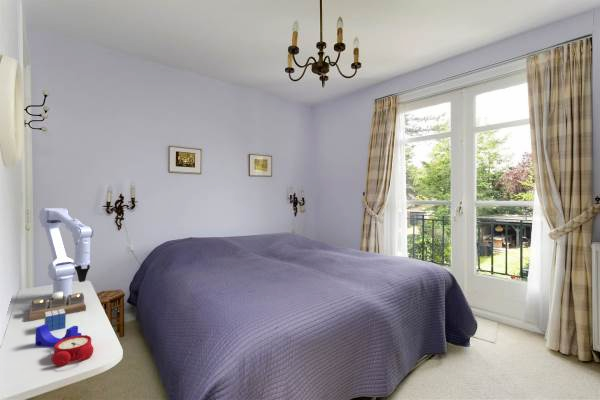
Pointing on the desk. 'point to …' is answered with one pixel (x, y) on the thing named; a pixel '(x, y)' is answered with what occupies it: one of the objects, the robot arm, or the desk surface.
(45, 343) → the blue curved block
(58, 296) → the knob middle
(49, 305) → the knob panel
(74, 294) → the knob
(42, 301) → the knob
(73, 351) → the alarm clock
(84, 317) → the desk surface
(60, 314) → the puzzle toy
